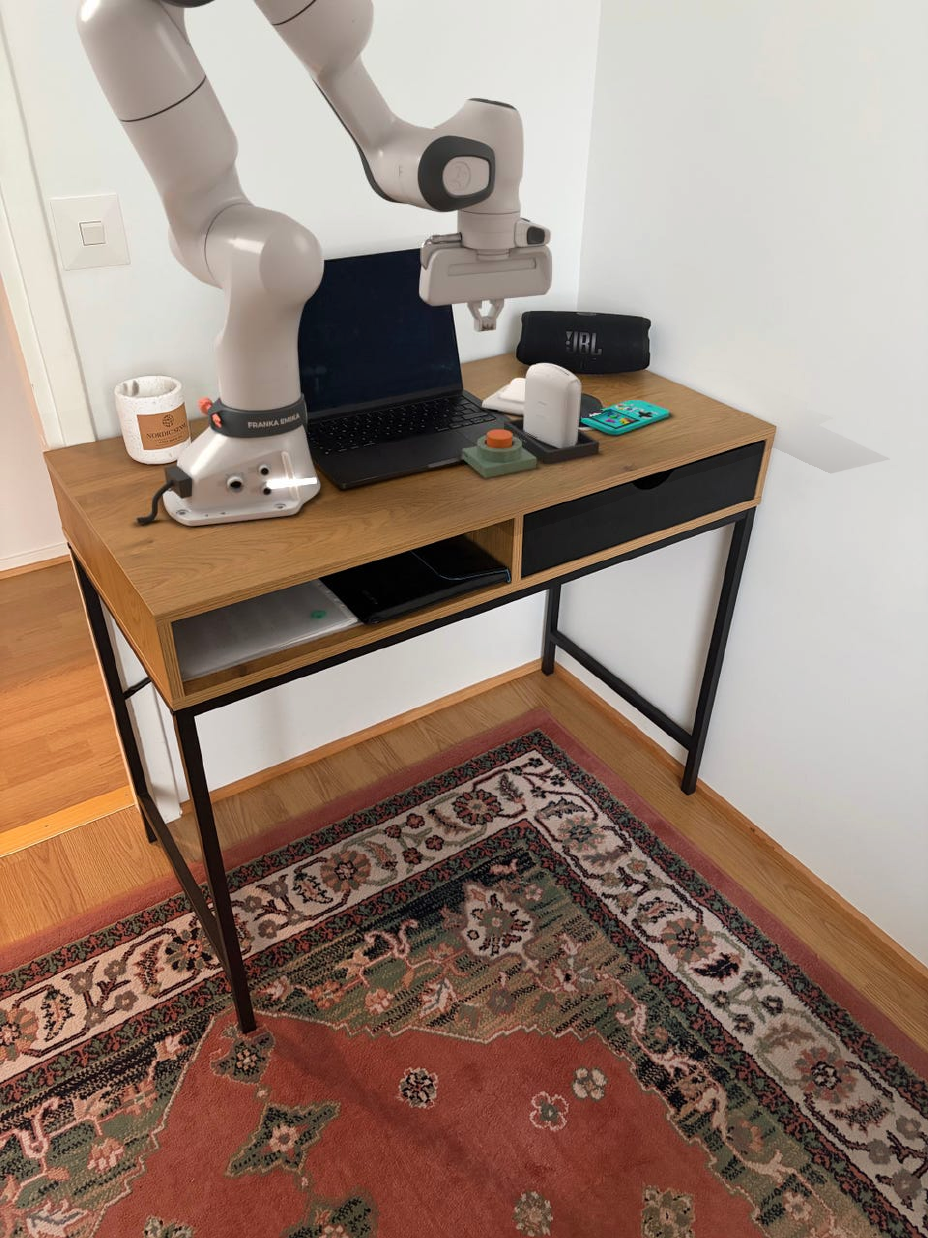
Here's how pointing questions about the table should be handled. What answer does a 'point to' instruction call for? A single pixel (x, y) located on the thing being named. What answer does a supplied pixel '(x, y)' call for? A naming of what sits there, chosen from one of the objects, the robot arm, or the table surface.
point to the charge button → (499, 439)
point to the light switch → (508, 398)
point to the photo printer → (552, 405)
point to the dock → (549, 452)
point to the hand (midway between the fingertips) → (484, 329)
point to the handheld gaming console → (626, 417)
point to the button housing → (498, 458)
